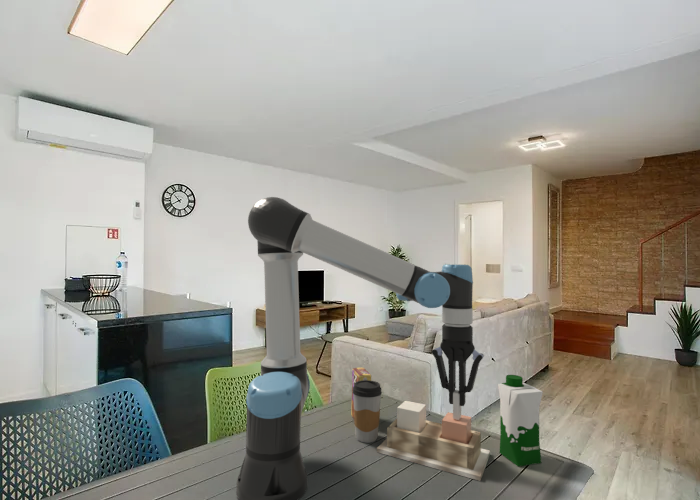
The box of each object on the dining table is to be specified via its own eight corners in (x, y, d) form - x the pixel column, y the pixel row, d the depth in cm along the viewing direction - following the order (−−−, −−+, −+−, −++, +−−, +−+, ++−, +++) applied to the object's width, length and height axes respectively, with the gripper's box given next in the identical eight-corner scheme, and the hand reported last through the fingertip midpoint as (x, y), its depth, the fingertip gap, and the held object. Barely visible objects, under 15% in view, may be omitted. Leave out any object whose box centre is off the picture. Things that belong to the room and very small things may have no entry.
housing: (376, 452, 99) (377, 428, 99) (396, 431, 111) (397, 411, 112) (480, 481, 87) (480, 454, 87) (490, 454, 99) (490, 431, 99)
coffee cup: (381, 432, 111) (382, 380, 112) (380, 445, 103) (381, 389, 103) (353, 430, 112) (353, 379, 112) (350, 443, 104) (351, 388, 104)
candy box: (371, 425, 116) (371, 374, 116) (357, 426, 115) (358, 375, 115) (363, 414, 124) (364, 367, 125) (350, 415, 123) (351, 367, 124)
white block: (396, 434, 101) (397, 407, 101) (405, 425, 106) (405, 400, 106) (418, 439, 98) (418, 412, 98) (425, 430, 103) (426, 404, 103)
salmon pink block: (441, 448, 95) (441, 420, 95) (447, 439, 100) (448, 412, 100) (466, 454, 92) (466, 425, 92) (471, 444, 97) (471, 416, 98)
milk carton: (522, 447, 103) (521, 373, 103) (547, 465, 94) (547, 383, 95) (494, 451, 100) (494, 375, 101) (517, 469, 92) (517, 386, 92)
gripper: (486, 324, 97) (486, 417, 97) (436, 320, 104) (436, 407, 103) (481, 328, 91) (481, 428, 90) (428, 324, 97) (427, 417, 96)
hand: (457, 417), depth 96 cm, fingers closed
